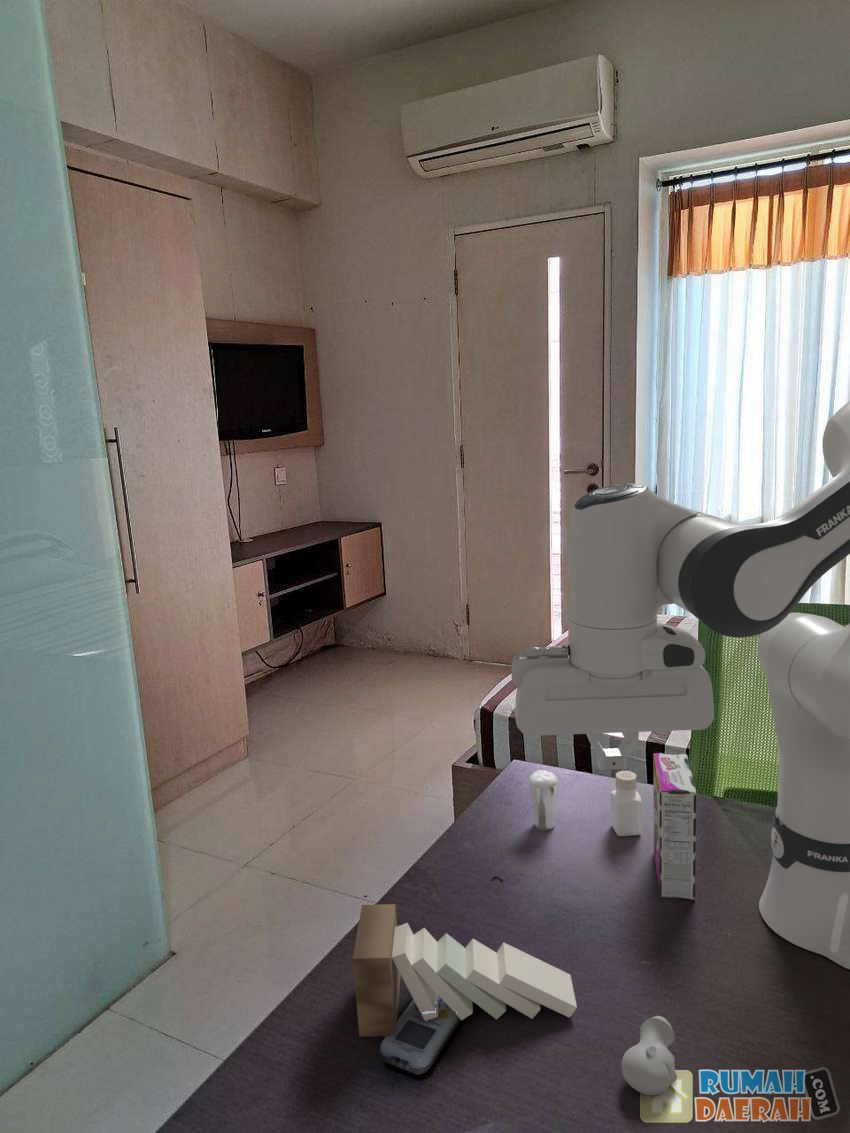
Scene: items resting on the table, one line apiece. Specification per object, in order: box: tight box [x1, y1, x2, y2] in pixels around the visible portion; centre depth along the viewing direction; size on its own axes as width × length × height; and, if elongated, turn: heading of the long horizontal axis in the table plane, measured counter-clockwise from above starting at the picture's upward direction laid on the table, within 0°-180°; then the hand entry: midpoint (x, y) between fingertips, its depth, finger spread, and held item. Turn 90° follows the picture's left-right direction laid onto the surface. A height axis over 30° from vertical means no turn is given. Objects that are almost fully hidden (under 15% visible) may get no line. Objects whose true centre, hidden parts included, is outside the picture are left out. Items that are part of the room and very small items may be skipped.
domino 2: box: [412, 927, 474, 1021], centre depth 89 cm, size 2×5×9 cm
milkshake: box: [524, 769, 559, 832], centre depth 125 cm, size 5×5×10 cm
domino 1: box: [392, 922, 440, 1022], centre depth 89 cm, size 2×5×9 cm, turn 178°
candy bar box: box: [652, 752, 697, 901], centre depth 109 cm, size 11×5×16 cm, turn 168°
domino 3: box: [436, 932, 507, 1020], centre depth 89 cm, size 2×5×9 cm
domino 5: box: [496, 942, 578, 1018], centre depth 89 cm, size 2×5×9 cm
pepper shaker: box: [610, 770, 643, 837], centre depth 122 cm, size 4×4×10 cm
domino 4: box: [465, 938, 541, 1020], centre depth 89 cm, size 2×5×9 cm
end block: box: [352, 903, 402, 1038], centre depth 89 cm, size 4×9×10 cm, turn 178°
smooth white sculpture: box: [621, 1015, 678, 1096], centre depth 80 cm, size 4×8×5 cm
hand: (612, 767), depth 83 cm, fingers closed
